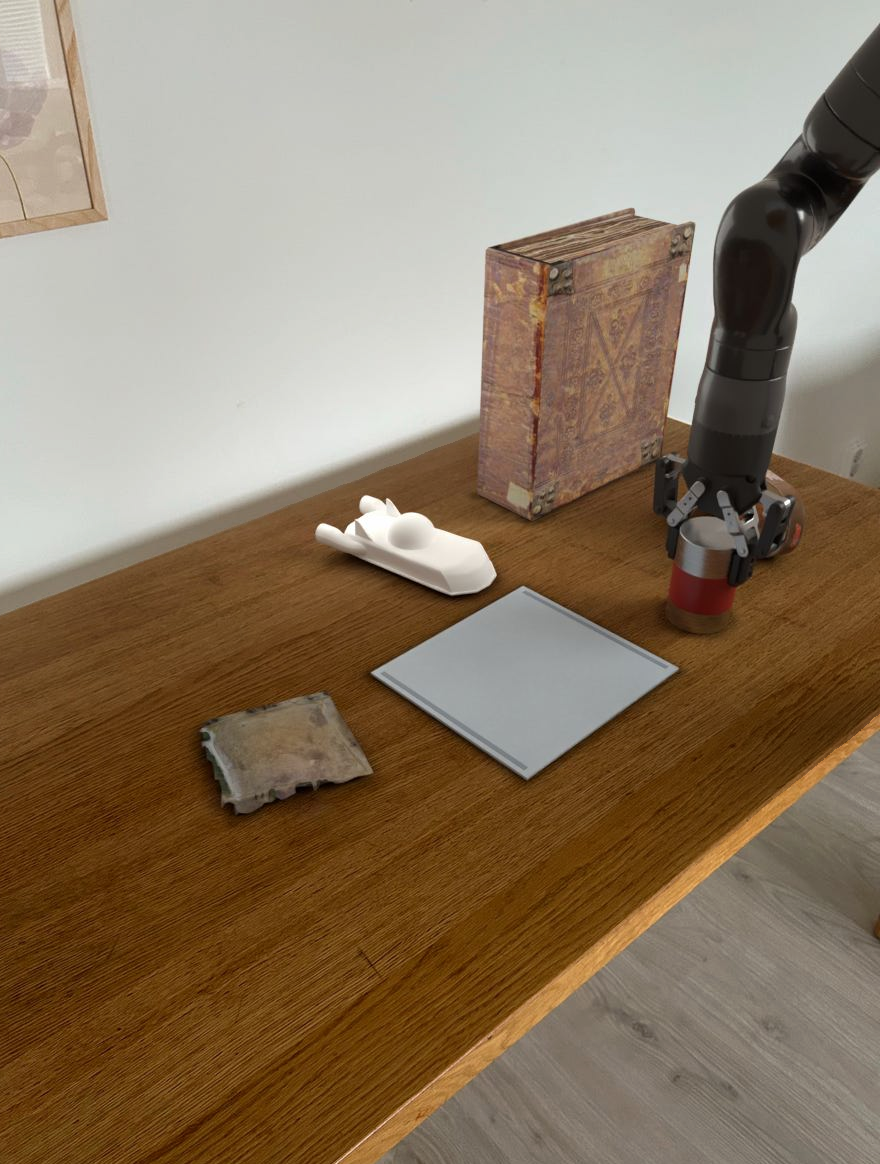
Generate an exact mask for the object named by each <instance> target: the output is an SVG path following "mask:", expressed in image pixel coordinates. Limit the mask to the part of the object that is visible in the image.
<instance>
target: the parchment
mask: <svg viewBox="0 0 880 1164" xmlns="http://www.w3.org/2000/svg"><path fill="white" fill-rule="evenodd" d="M198 733H201V734H202V737H203V738H202V739H201V748H202V749H204V750H205V752H206V753H205V755H206V760H207V761H210V762H211V764H212V766H213V773H214V780H215V781H219V785H220V788H221V796H220V797H221V798H220V807H221V809H222V808H224V806H225V804H227V803H231V804H233V809H234V814H235V816H237V815H238V814H250V813H254V812H255V811H256V810H258V809H259V808H261V807H262V806H263V805H264V804H266V803H272V802H274V801H275V800H277V799H280V800H281V801H283V800H285V799H287V798H289V797H291V796H292V795H294V794H296V793H297V790H296V789H297V788H298V787H301V788H303V787H311V788H313V790H314V792H316V791H317V790H318V788H319V787H320V786H321V785H324V784H328V783H330V782H331V783H334V784H342V783H345V782H348V781H350V780H353V779H354V778H357V777H363V776H368V775H369V776H370V775H371V774H374V771H373V769H372V767H371V765H370V763H369V761H368V759H367V757H366V754H365V752H364V750H363V749H362V748H361V745H360V744H359V742H358V740H357V739H356V738H355V736H354V734H353V732H352V731H351V729H350V728H349V726H348V724H347V723H346V722H345V720H344V719H343V717H342V715H341V714H340V712H339V710H338V708H337V706H336V705H335V702H334V701H333V699H332V696H331V694H330V693H329V692H328V691H327V690H324V691H321V692H320V691H319V692H316V693H312V694H309V695H302V696H298V697H294V698H290V699H286V700H283V701H279V702H275V703H270V704H265V705H263V706H262V707H256V708H250V709H246V710H243V711H239V712H233V713H231V714H227V715H223V716H219V717H218V716H217V717H213V718H211V719H210V720H204V724H203V726H202V728H201V729H200V730H199V731H198Z"/></svg>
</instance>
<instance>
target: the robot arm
mask: <svg viewBox="0 0 880 1164" xmlns="http://www.w3.org/2000/svg"><path fill="white" fill-rule="evenodd" d="M879 170H880V22H879V23H878V24H877V26H875V28H874V29H873V31H871V32H870V34H869V35H868V36H867V37H866V39H865V40H864V41H863V43H862V44H860V46H859V48H858V49H857V50H856V51H855V52H854V53H853V55H852V56H851V58H850V59H848V60H847V62H846V64H845V65H844V66H843V67H842V69H840V71H839V73H838V74H837V75H836V76H835V77H834V79H833V80H832V81H831V83H830V84H829V85H828V87H826V89H825V90H824V91H823V93H822V94H821V95H820V97H819V98H818V99H817V101H816V102H815V103H814V104H813V106H812V107H811V109H810V111H808V113H807V116H806V117H805V119H804V122H803V125H802V132H801V133H800V134H799V135H798V136H797V138H796V139H795V140H794V142H793V143H792V145H791V146H790V147H788V149H787V150H786V152H785V153H784V154H783V155H782V156H781V158H780V159H779V160H778V162H777V163H776V164H775V165H774V166H773V168H772V169H771V170H770V171H769V172H768V173H767V174H766V175H765V176H764V177H763V178H762V179H761V180H759V181H758V182H756V183H755V184H752V185H751V186H749V187H747V188H745V189H743V190H742V191H741V192H740V193H738V194H736V195H735V196H734V198H733V199H732V200H730V202H729V203H728V204H727V206H726V208H725V210H724V212H723V213H722V216H721V218H720V220H719V224H718V228H717V230H716V235H715V240H714V245H713V256H712V298H713V299H712V300H713V309H714V310H713V311H714V313H713V318H712V323H711V327H710V332H709V339H708V344H707V350H706V354H705V355H706V356H705V362H704V365H703V369H702V373H701V375H700V379H699V382H698V386H697V390H696V395H695V397H694V398H695V399H694V408H693V413H692V419H691V426H690V431H689V438H688V442H687V447H686V456H687V458H682V457H681V454H680V453H679V452H678V451H671V452H670V453H667V454H665V455H662V456H661V457H660V459H658V460H657V461H655V466H654V467H655V468H654V469H655V471H654V481H653V482H654V485H653V500H652V511H653V513H654V514H655V515H657V516H663V517H664V518H665V519H666V523H667V524H668V528H667V534H666V538H665V539H666V540H665V546H664V547H665V550H666V552H667V558H668V559H670V560H672V561H674V558H675V553H676V547H677V542H678V536H679V530H680V526H681V525H682V524H683V523H684V522H685V521H687V520H689V519H690V518H691V517H692V516H693V514H695V512H696V511H699V512H700V513H701V512H702V513H705V514H712V515H713V517H715V516H716V517H717V518H718V519H721V520H723V521H725V522H726V526H727V530H728V533H729V534H730V535H732V536H733V539H734V543H735V546H736V550H737V553H735V554H734V559H733V563H732V568H731V573H730V577H729V582H728V584H729V585H730V586H732V587H735V588H736V589H737V588H738V587H739V586H740V585H743V584H745V583H746V582H748V581H749V580H750V579H751V578H752V577H753V574H754V569H755V566H756V561H757V558H758V559H765V557H766V556H768V555H769V554H771V553H772V552H774V551H775V550H777V549H778V548H779V547H780V544H781V542H782V539H783V536H784V533H785V530H786V528H787V525H788V522H789V519H790V517H791V514H792V511H793V508H794V505H795V498H794V497H793V496H792V495H789V494H788V495H785V496H784V497H781V496H779V495H777V494H775V493H772V492H770V491H768V488H767V484H766V473H767V470H768V469H769V467H770V464H771V460H772V455H773V451H774V447H775V443H776V439H777V434H778V429H779V425H780V420H781V415H782V411H783V408H784V402H785V397H786V391H787V390H786V389H787V377H788V372H789V371H788V370H789V367H790V362H791V357H792V354H793V349H794V344H795V340H796V334H797V329H798V319H799V318H798V317H799V315H798V309H797V308H796V306H795V305H794V303H793V296H794V290H795V285H796V284H795V283H796V277H797V272H798V269H799V266H800V262H801V259H802V258H803V257H805V256H806V255H807V254H808V253H810V252H811V251H812V250H813V249H814V248H815V247H816V246H818V244H819V243H820V242H821V241H822V240H823V239H824V237H825V236H827V234H828V233H829V232H830V230H831V229H832V228H833V227H834V226H835V224H836V223H838V221H839V219H841V217H842V216H843V214H844V213H845V212H846V211H847V210H848V208H849V207H850V206H851V204H852V203H853V202H854V200H855V199H856V198H857V196H858V195H859V194H860V193H861V191H862V190H863V189H864V187H865V186H866V185H867V183H868V181H869V180H870V179H871V178H872V177H873V176H874V175H875V174H876V173H877V172H879ZM681 476H682V478H683V480H684V482H685V486H686V487H687V489H688V491H687V492H686V493H685V495H684V496H683V497H682V498H681V499H680V500H679V501H678V495H679V483H680V482H679V481H680V477H681ZM758 502H761V503H762V505H763V514H762V515H763V517H766V519H765V522H764V525H763V528H762V531H761V534H759V530H758V523H759V517H758V514H757V510H756V506H755V505H756V504H757V503H758ZM742 514H743V519H742V520H741V521H740V520H739V516H741V515H742Z"/></svg>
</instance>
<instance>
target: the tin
mask: <svg viewBox="0 0 880 1164" xmlns="http://www.w3.org/2000/svg"><path fill="white" fill-rule="evenodd" d="M766 484H767V488H768V491H770V492H772V493H775V494H777V495H779V496H781V497H784V496H785V495H788V494H789V495H792V496H793V497H794V498H795V505H794V508H793V511H792V514H791V517H790V519H789V522H788V525H787V528H786V530H785V533H784V536H783V539H782V542H781V544H780V547H779V548H778V549H777V550H775V551H774V552H772V553H771V554H769V555H768V556H766V557H765V558H772V557H777V556H784V555H787V554H790V553H792V552H793V551H794V550H796V549H797V547H799V545H800V543H801V540H802V538H803V535H804V531H805V527H806V521H807V512H806V507H805V504H804V501H803V499H802V496H801V494H800V493H799V491H798V490H797V489H796V488H795V487H794V486H793V485H791V483H789V482H787V481H786V480H785V479H784V478H782V477H781V476H779V475H778V474H777V473H775V472H773V471H772V470H770V469H769V468H768V470H767V473H766ZM755 506H756V510H757V514H758V517H759V523H758V530H759V534H761V531H762V528H763V525H764V522H765V519H766V517H763V515H762V514H763V505H762V503H761V502H758V503H757V504H756V505H755ZM714 517H716V516H714ZM742 519H743V514H742V515H741V516H739V520H740V521H741V520H742ZM765 558H764V559H765Z"/></svg>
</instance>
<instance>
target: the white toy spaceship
mask: <svg viewBox="0 0 880 1164" xmlns="http://www.w3.org/2000/svg"><path fill="white" fill-rule="evenodd" d="M358 508H359V511H360V513H361V515H362V516H360V517H359V518H354V521H352V522H351V523H350V524H348V525H347V527H346V528H345V530H344V533H343V532H342V531H341V530H340V529H339V528H337V527H335V526H332V525H330V524H327V523H324V522H323V523H320V524H319V525H318V526H317V527H316V530H315V534H314V536H315V540H316V542H317V543H318V544H320V545H322V546H326V547H329V548H332V549H335V550H337V551H339V552H343V553H346V554H351V555H352V556H354V557H357V558H359V559H361V560H362V561H363V560H364V561H365V562H367V563H370V564H373V565H375V566H377V567H380V568H382V569H384V570H387V571H388V572H391V573H394V574H395V575H396V574H397V575H398V576H401V577H403V578H406V579H408V580H411V581H413V582H416V583H418V584H421V585H423V586H426V587H427V588H430V589H432V590H435V591H437V592H440V593H443V594H446V595H448V596H451V597H453V596H460V595H468V594H476V593H479V592H480V591H482V590H484V589H486V588H488V587H489V586H491V584H492V583H493V582H494V581H495V579H496V577H497V571H496V569H495V567H494V565H493V562H492V561H491V560H490V558H489V555H488V554H487V552H486V550H485V548H484V546H483V545H482V543H481V542H479V541H477V540H474V539H471V538H467V537H463V536H460V535H458V534H454V533H452V532H449V531H446V530H443V529H439V528H437V527H435V526H434V524H433V522H432V521H431V520H430V519H429V518H428V517H427V516H425V515H423V514H421V513H418V512H413V511H412V512H404V513H402V514H401V512H399V510H398V508H397V506H395V504H394V503H393V502H392V500H391V499H389V498H388V497H387V498H386V499H385V502H383V501H382V500H381V499H379V498H377V497H373V496H370V495H366V494H365V495H363V496H362V497H361V499H360V500H359V505H358Z"/></svg>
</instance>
